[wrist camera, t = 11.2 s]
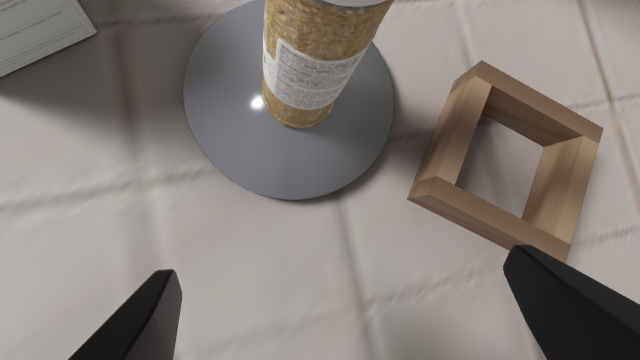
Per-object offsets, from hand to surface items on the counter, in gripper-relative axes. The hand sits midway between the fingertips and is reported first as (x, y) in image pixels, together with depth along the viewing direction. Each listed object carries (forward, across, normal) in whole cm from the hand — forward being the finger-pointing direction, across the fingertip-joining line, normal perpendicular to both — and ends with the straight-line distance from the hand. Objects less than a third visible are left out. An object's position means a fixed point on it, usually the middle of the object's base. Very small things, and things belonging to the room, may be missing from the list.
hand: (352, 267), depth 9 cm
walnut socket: (+12, -13, +5) cm, 18 cm away
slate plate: (+15, +1, 0) cm, 15 cm away
